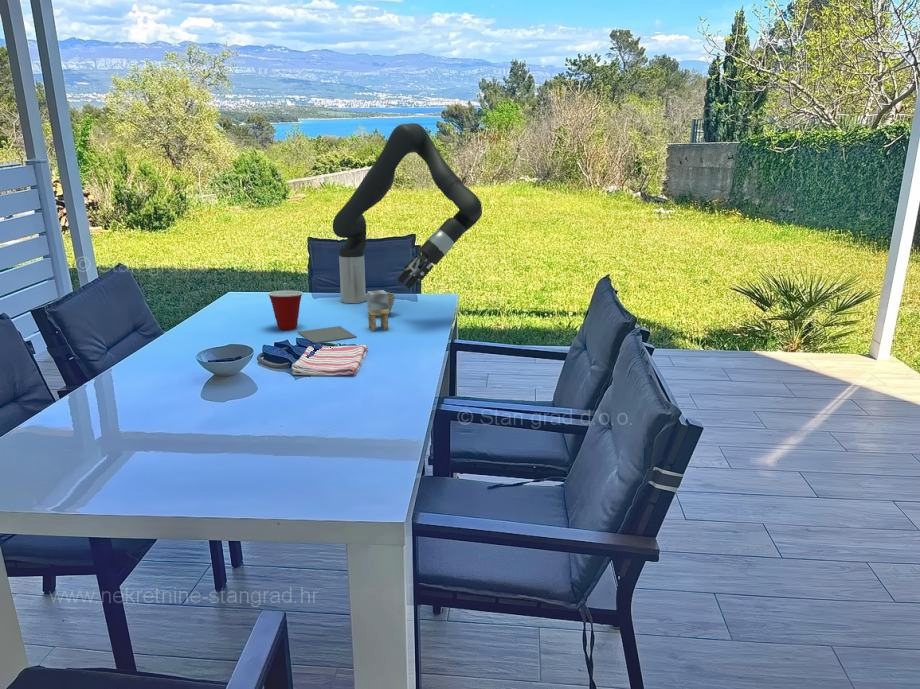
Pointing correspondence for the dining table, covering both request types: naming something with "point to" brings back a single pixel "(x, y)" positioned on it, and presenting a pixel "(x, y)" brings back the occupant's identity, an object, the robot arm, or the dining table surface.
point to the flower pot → (390, 302)
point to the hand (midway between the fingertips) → (403, 284)
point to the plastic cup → (286, 308)
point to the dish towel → (331, 361)
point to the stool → (377, 308)
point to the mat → (327, 334)
